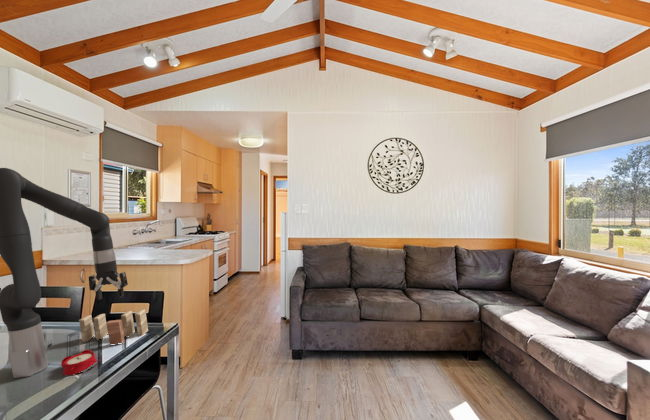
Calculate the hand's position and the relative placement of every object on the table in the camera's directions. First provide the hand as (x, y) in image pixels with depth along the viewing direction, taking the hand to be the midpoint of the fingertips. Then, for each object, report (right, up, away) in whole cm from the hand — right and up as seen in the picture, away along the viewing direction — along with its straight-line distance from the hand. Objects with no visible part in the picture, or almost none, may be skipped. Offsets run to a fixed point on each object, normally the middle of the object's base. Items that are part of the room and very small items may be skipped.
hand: (110, 298), depth 139 cm
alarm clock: (-2, -22, -15) cm, 27 cm away
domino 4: (+8, -19, +10) cm, 23 cm away
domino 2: (-10, -20, +10) cm, 24 cm away
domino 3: (+2, -19, +10) cm, 22 cm away
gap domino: (+2, -20, +2) cm, 20 cm away
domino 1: (-16, -21, +9) cm, 28 cm away
